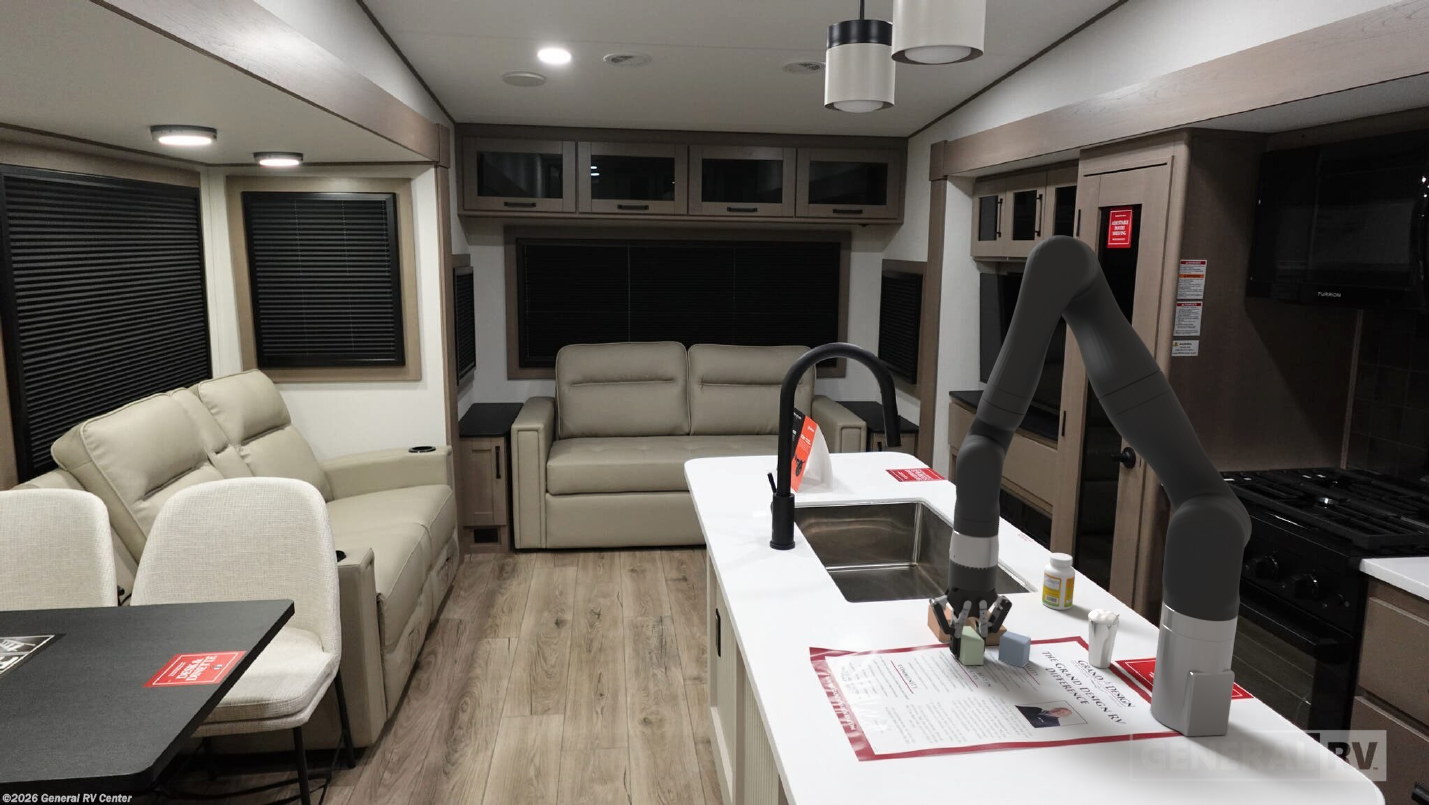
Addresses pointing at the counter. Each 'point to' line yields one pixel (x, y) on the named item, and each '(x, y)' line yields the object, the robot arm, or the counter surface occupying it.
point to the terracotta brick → (935, 626)
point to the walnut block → (992, 637)
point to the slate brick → (1014, 649)
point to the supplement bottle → (1058, 582)
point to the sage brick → (971, 647)
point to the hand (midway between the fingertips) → (966, 655)
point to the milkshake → (1101, 637)
